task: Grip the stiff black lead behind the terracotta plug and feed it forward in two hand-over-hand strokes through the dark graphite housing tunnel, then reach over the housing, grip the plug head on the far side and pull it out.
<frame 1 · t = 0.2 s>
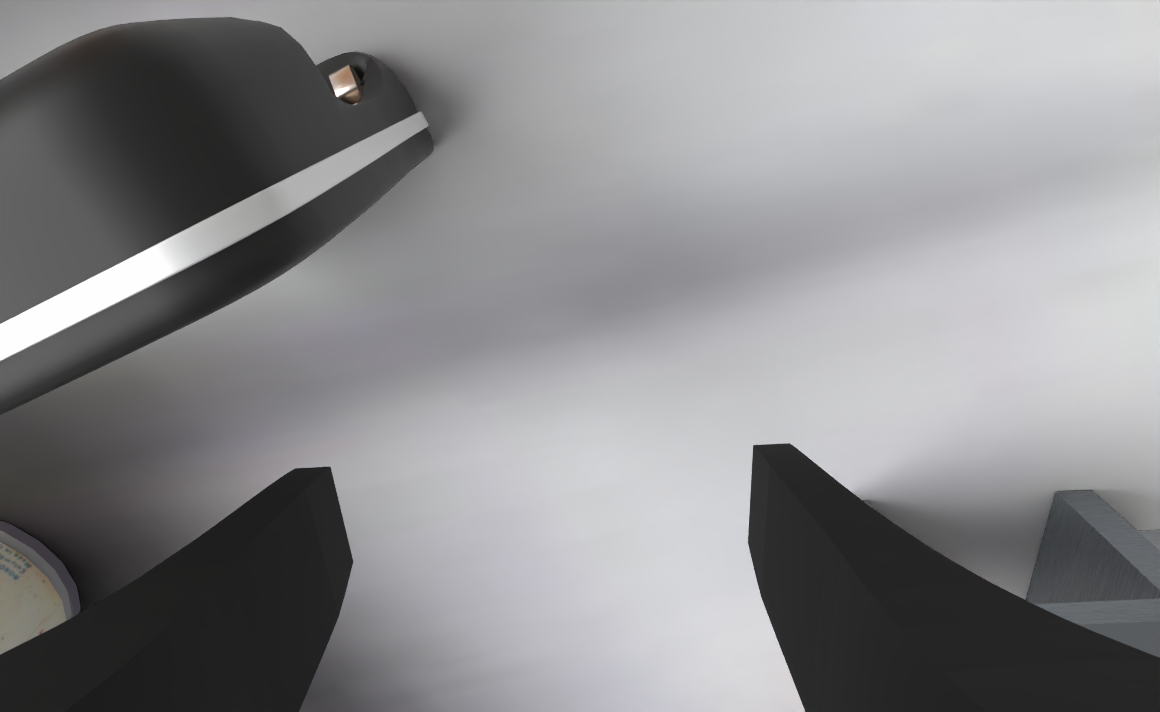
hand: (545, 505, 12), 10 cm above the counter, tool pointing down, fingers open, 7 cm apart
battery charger: (304, 134, 19), on the counter
housing: (949, 553, 25), on the counter
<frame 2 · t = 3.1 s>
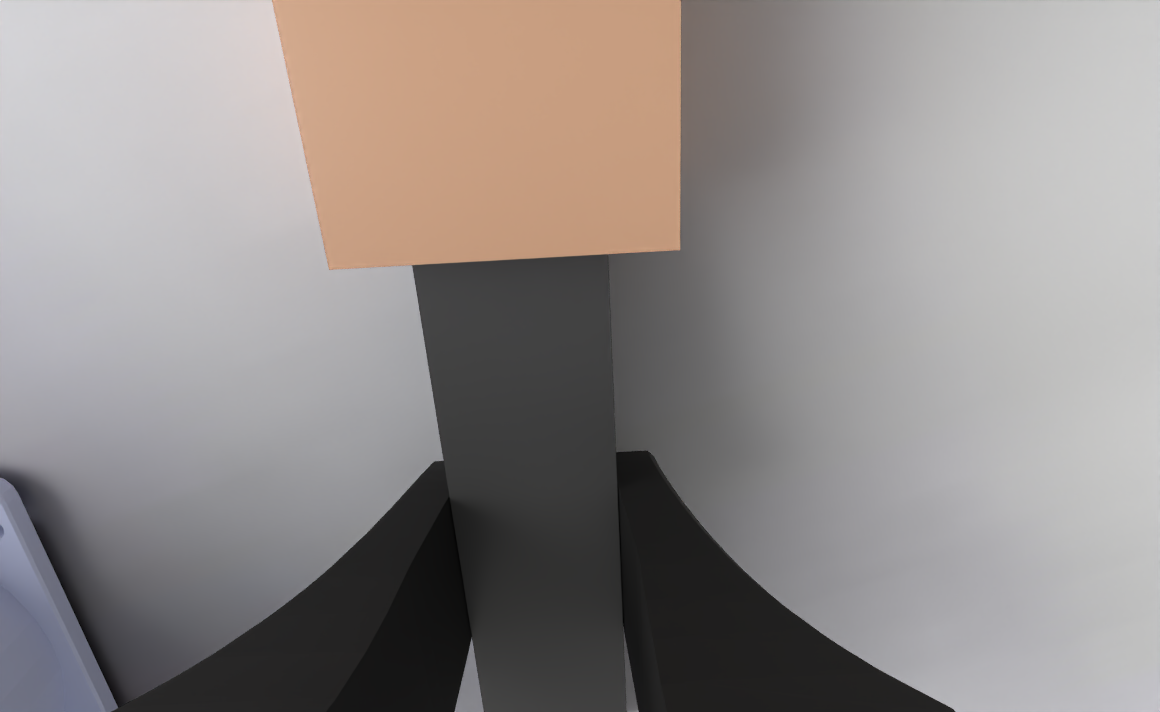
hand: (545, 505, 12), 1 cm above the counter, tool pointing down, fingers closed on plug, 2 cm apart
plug: (512, 59, 10), on the counter, touching gripper
when the fingers open (1 cm above the counter, at t = 4.8 s): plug stays where it is, on the counter.
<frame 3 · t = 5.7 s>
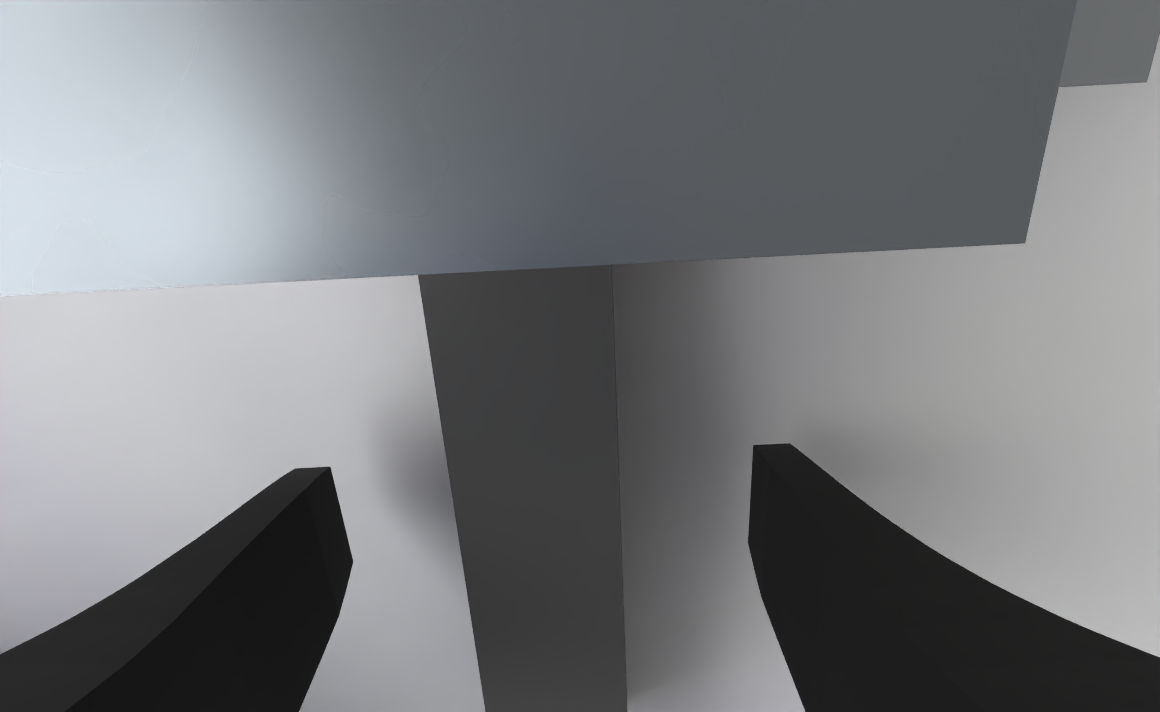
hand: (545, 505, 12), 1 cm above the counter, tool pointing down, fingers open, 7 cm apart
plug: (514, 31, 10), on the counter
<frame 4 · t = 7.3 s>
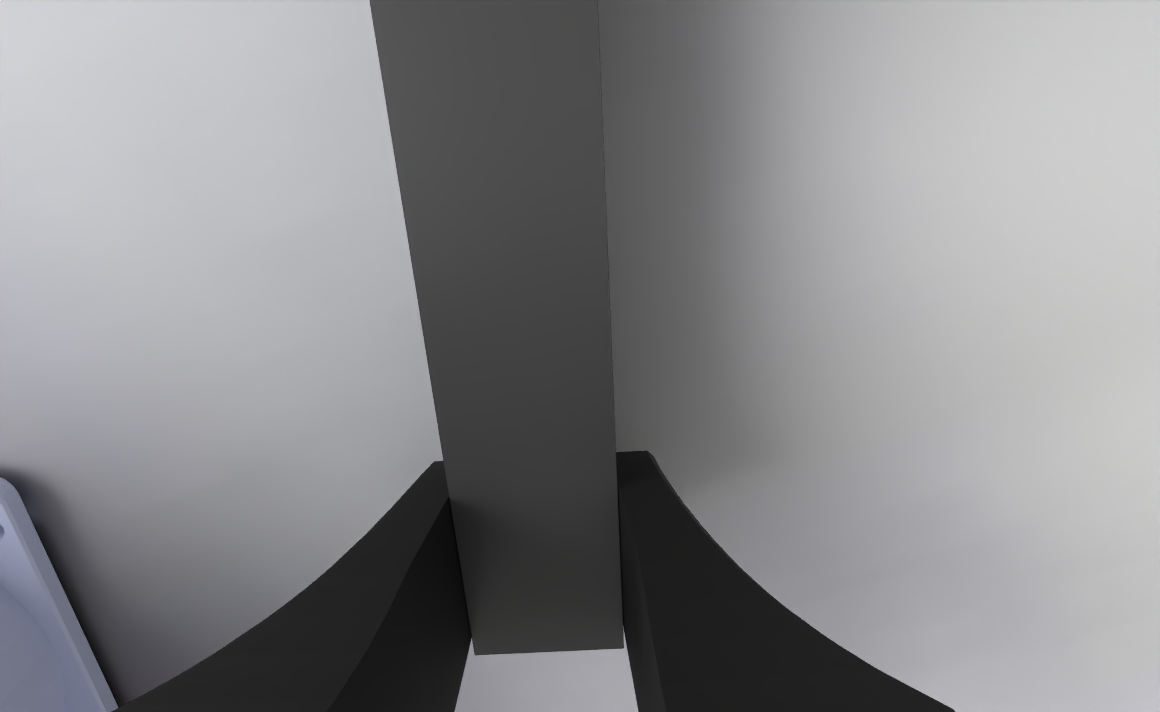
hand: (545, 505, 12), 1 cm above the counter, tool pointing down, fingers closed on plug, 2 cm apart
when the fingers open (1 cm above the counter, at t = 9.0 s): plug stays where it is, on the counter.
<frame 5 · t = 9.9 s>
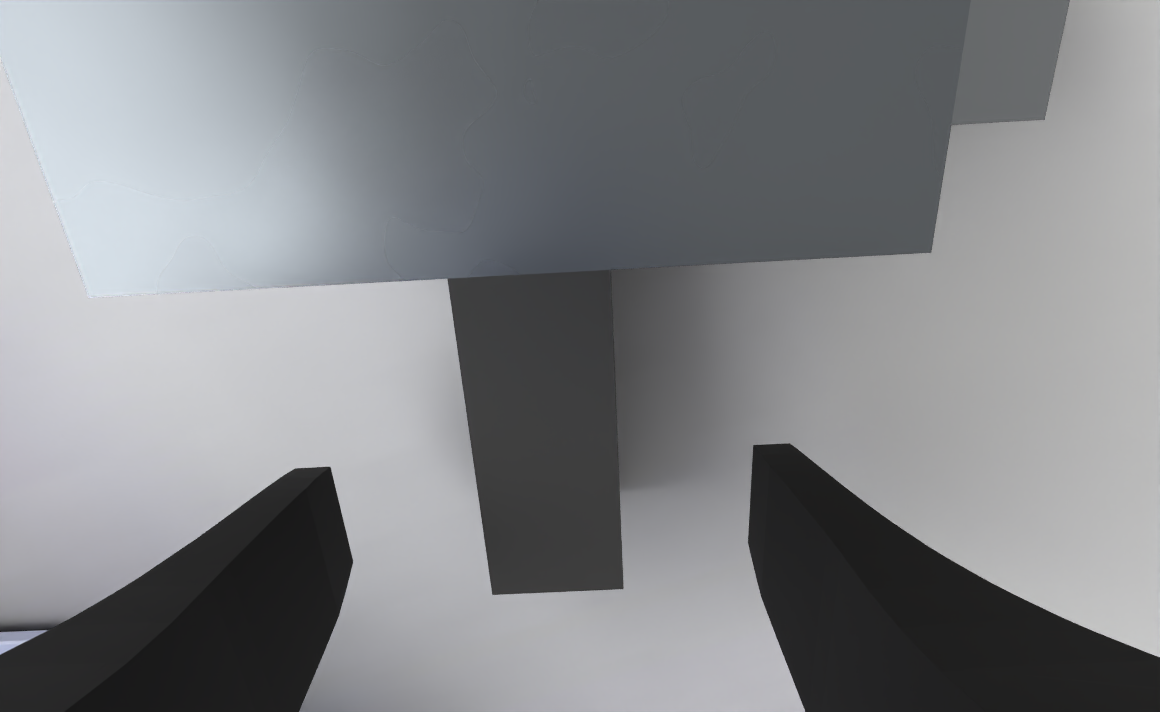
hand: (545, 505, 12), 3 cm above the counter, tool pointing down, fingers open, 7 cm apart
housing: (523, 19, 12), on the counter
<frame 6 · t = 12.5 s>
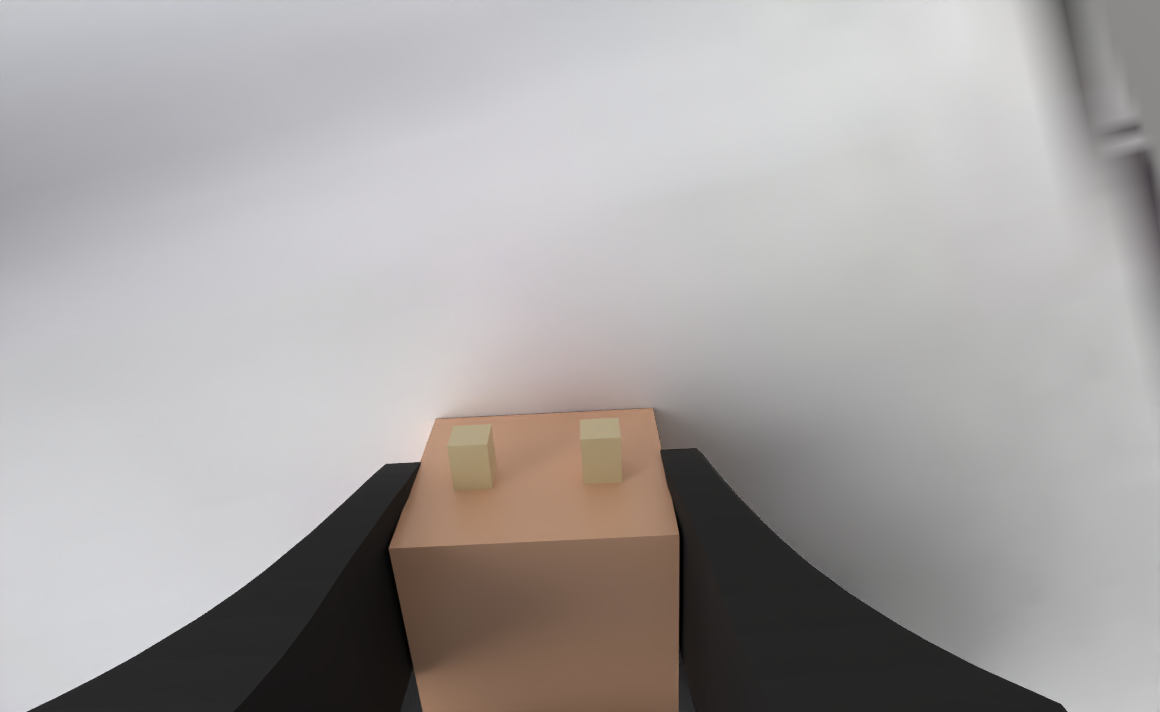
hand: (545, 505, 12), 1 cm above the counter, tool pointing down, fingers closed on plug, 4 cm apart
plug: (551, 503, 14), on the counter, touching gripper
housing: (566, 670, 16), on the counter
when the fingers open (1 cm above the counter, at t = 14.0 s): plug stays where it is, on the counter.
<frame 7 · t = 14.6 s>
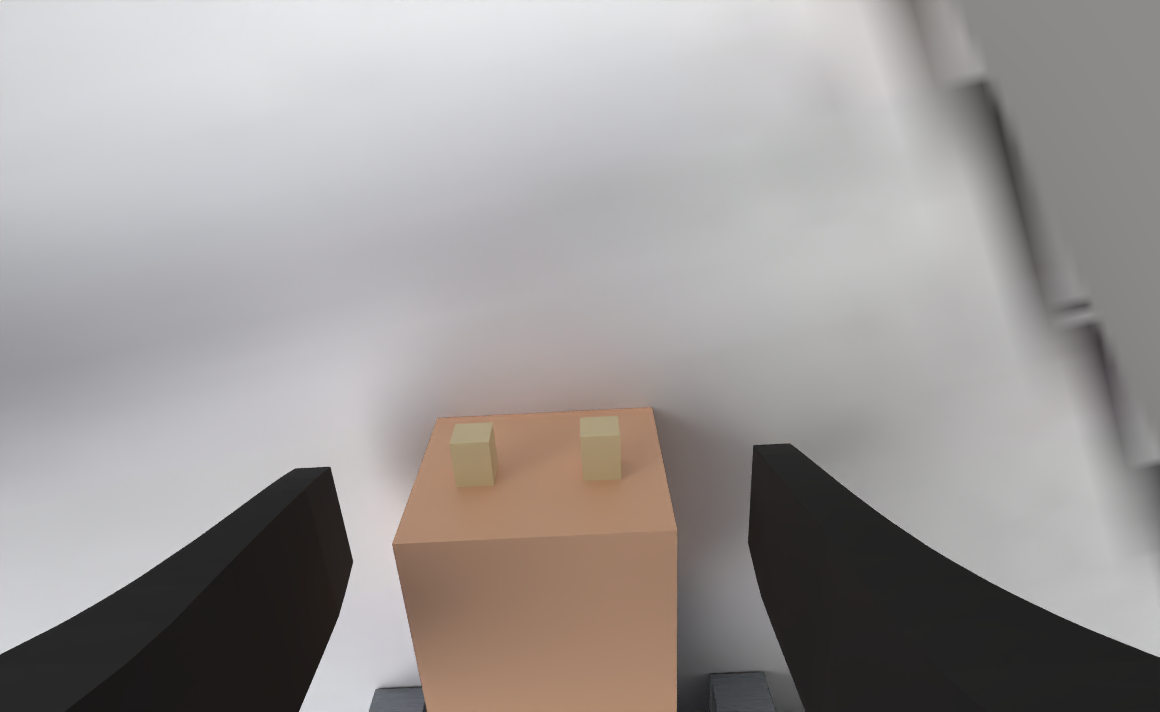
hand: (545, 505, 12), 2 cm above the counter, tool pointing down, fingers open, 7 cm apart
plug: (552, 500, 14), on the counter
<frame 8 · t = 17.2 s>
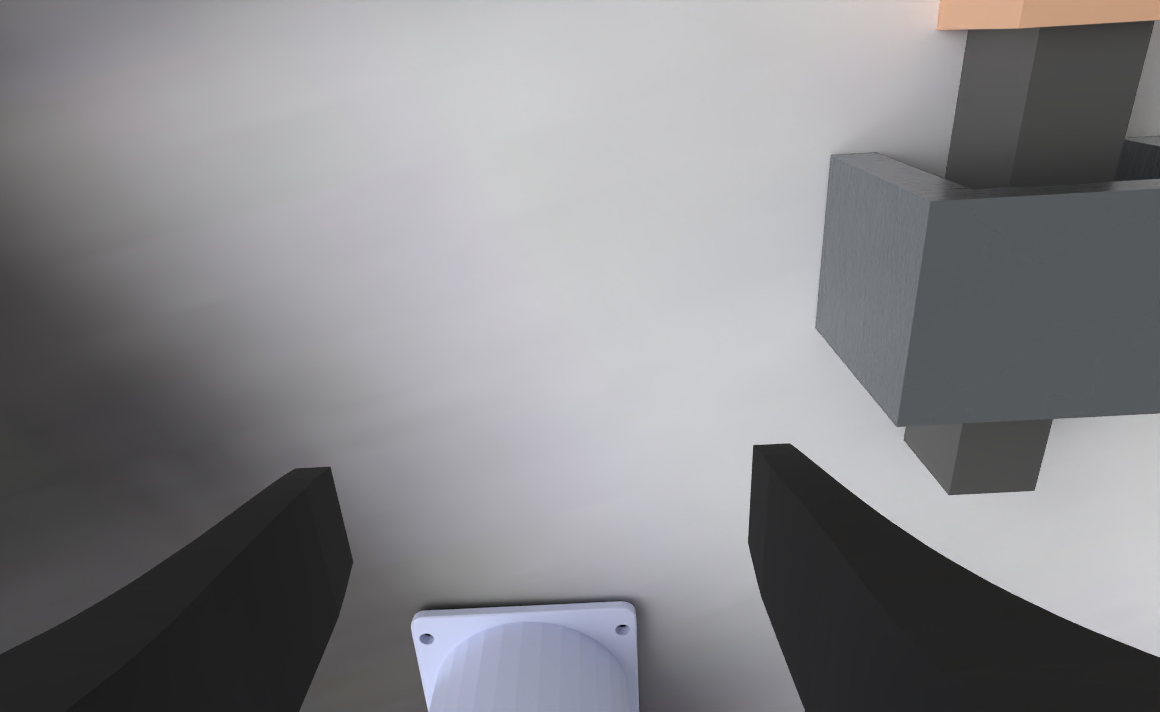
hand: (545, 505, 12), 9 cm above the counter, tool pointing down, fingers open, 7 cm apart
housing: (979, 237, 20), on the counter
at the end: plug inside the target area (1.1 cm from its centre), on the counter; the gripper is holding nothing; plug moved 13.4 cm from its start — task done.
